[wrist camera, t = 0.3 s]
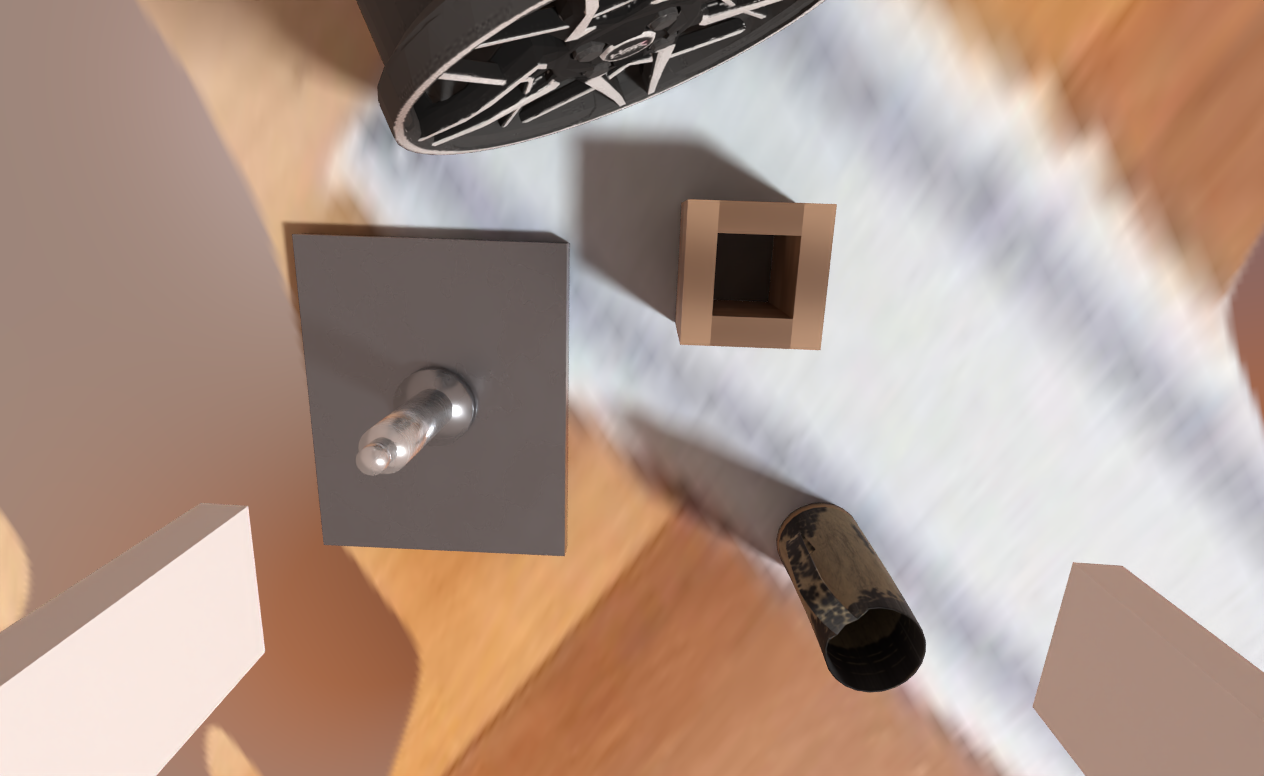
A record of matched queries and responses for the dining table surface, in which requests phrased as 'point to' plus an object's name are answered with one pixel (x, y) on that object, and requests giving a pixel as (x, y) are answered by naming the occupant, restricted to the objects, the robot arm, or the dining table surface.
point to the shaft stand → (438, 390)
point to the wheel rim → (546, 61)
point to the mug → (850, 599)
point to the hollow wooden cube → (792, 280)
